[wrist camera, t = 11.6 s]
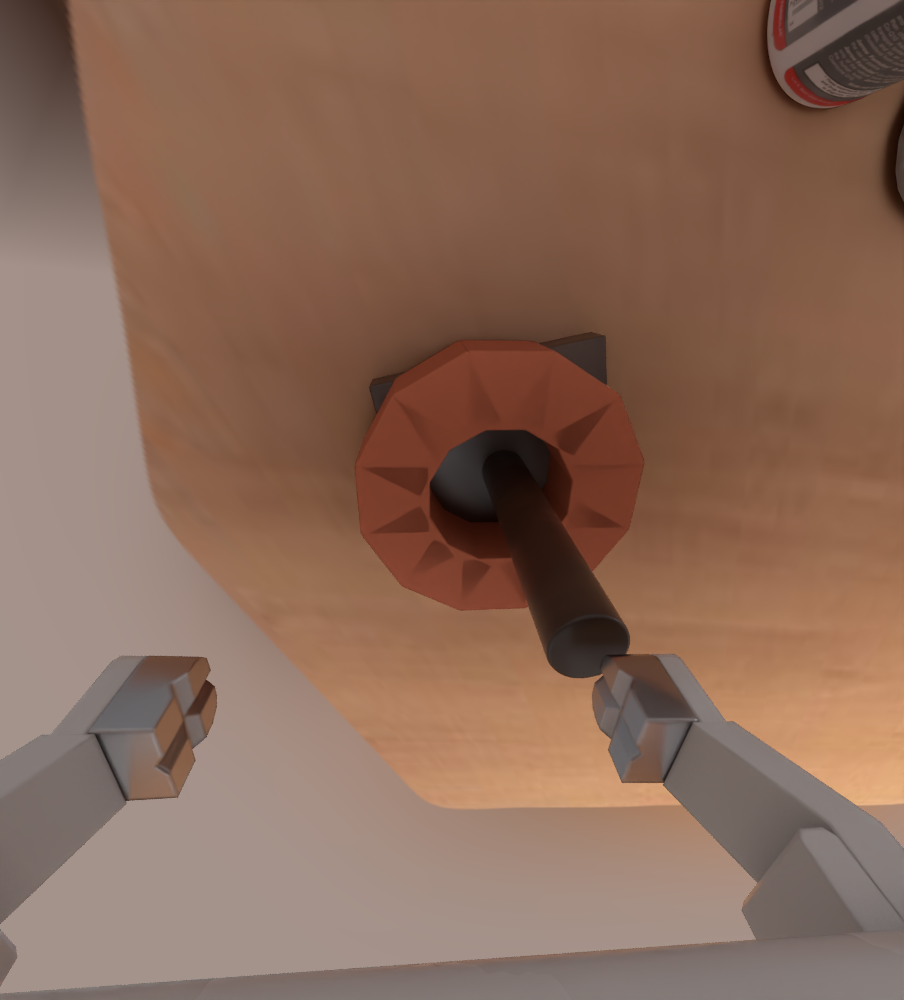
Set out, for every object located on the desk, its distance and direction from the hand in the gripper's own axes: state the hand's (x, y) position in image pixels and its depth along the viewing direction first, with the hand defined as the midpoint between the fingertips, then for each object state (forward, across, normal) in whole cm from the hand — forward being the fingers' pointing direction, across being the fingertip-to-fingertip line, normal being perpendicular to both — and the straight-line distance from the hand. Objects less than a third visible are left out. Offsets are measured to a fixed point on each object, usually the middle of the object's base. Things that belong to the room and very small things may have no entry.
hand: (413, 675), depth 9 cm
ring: (+12, -3, 0) cm, 12 cm away
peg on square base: (+13, -4, 0) cm, 14 cm away
